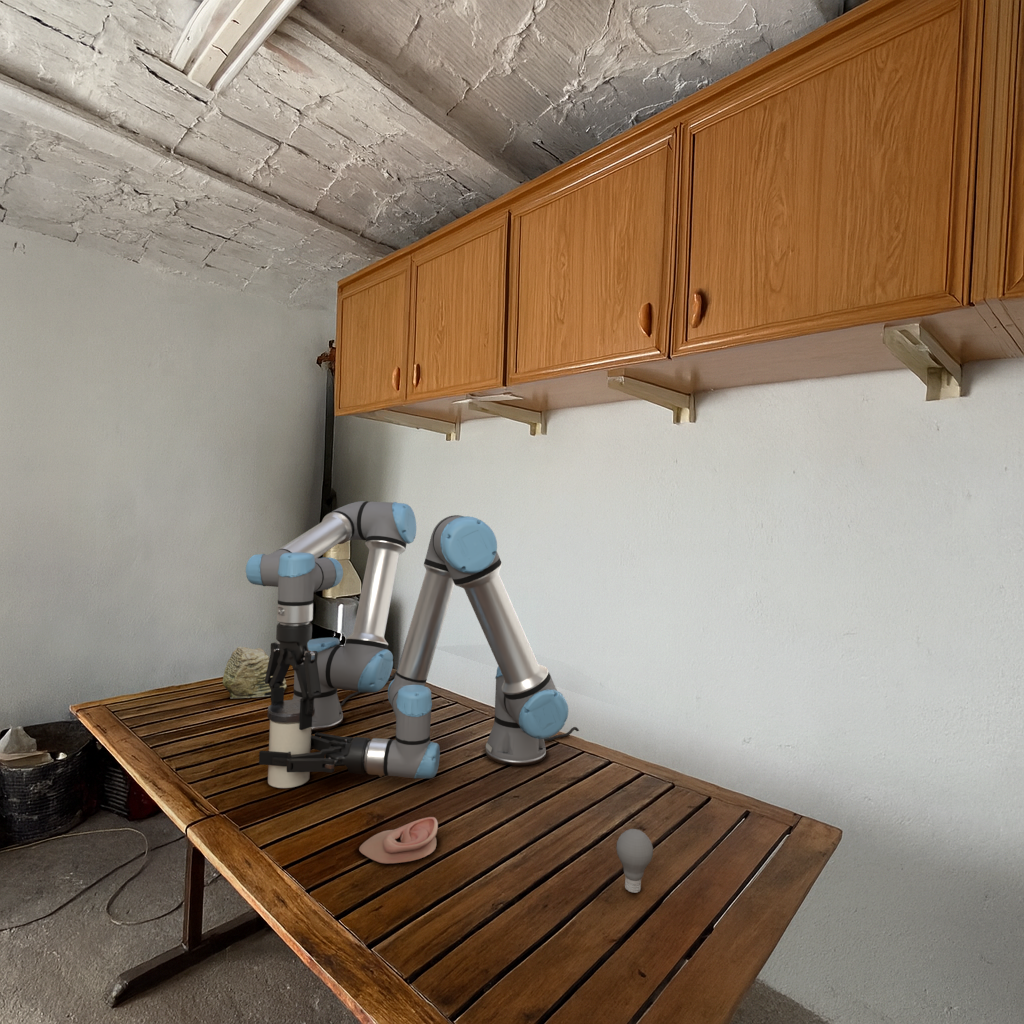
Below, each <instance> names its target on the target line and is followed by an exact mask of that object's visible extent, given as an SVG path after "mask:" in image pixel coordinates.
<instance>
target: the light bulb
mask: <svg viewBox="0 0 1024 1024" xmlns="http://www.w3.org/2000/svg"><path fill="white" fill-rule="evenodd" d="M615 849H616V854H617V857H618V859H619V861H620V863H621V865H622V867H623V873H624V874H623V875H624V876H625V878H624V888H625V890H627V891H628V892H630V893H634V894H635V893H639V892H640V891H641V889H642V887H641V886H642V879H643V877H644V875H645V871H646V868H647V867H648V866H649V864H650V863H651V861H652V859H653V855H654V847H653V843H652V841H651V838H649V836H648V835H647V834H646V833H645V832H643V831H642V830H641V829H636V828H629V829H627V830H625V831H623V832H622V833H621V834H620V835H619V837H618V839H617V841H616V847H615Z"/></svg>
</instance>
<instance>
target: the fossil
mask: <svg viewBox="0 0 1024 1024" xmlns="http://www.w3.org/2000/svg"><path fill="white" fill-rule="evenodd" d="M269 658H270V655H268V654H267V653H266V652H265V650H264V649H263V648H260V647H258V648H251V647H247V646H246V647H245V646H238V647H237V648H236V649H235V650H233V651H232V653H231V656H230V657H229V659H228V660H227V663H226V666H225V668H224V671H223V675H222V676H223V677H222V685H223V687H224V688H225V690H226V691H228V693H229V698H230V699H250V698H264V697H271V688H270V686H269V684H266V683H265V677H266V672H267V668H268V663H269ZM271 677H273V676H271ZM283 683H284V685H283V684H282V685H283V686H280V687H284V692H285V691H286V689H287V687H288V686H287V680H286V677H285V678H284V681H283Z"/></svg>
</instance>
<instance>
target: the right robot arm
mask: <svg viewBox="0 0 1024 1024" xmlns="http://www.w3.org/2000/svg"><path fill="white" fill-rule="evenodd" d="M430 535H431V536H430V539H429V543H428V547H427V551H426V553H425V558H424V562H423V567H424V568H425V573H424V577H423V580H422V584H421V587H420V590H419V594H418V597H417V600H416V604H415V607H414V611H413V614H412V618H411V621H410V624H409V627H408V631H407V635H406V638H405V642H404V644H403V648H402V651H401V654H400V659H399V662H398V665H397V668H396V671H397V672H396V671H395V672H396V675H395V676H394V677H393V678H392V679H391V682H390V683H389V685H388V688H387V699H388V702H389V704H390V706H391V708H392V710H393V713H394V716H395V739H390V738H378V737H373V738H372V739H371V738H370V737H361V736H354V737H352V736H339V735H335V734H330V733H323V732H314V735H313V734H311V751H312V750H315V752H311V753H305V754H295V755H291V752H288V753H287V752H273V751H269V750H260V751H259V753H258V765H260V766H261V765H262V766H263V765H264V766H268V765H274V766H287V772H310V773H319V772H320V773H321V772H323V773H329V774H330V773H335V768H336V767H344V766H345V767H346V769H347V771H348V773H350V774H356V775H366V773H367V775H372V776H378V777H379V778H382V777H383V776H386V777H399V778H409V779H414V780H417V779H420V780H421V779H424V780H426V779H433V778H434V777H435V776H436V775H437V773H438V771H439V765H440V759H441V750H440V749H441V748H440V745H439V743H437V742H433V741H431V722H432V708H433V702H432V690H431V689H430V688H429V687H428V686H426V684H427V681H428V676H429V673H430V670H431V666H432V663H433V660H434V656H435V653H436V650H437V646H438V643H439V640H440V636H441V632H442V630H443V625H444V623H445V619H446V616H447V612H448V609H449V606H450V603H451V602H450V601H451V598H452V595H453V593H454V589H455V586H456V587H459V588H462V589H463V590H464V592H465V594H466V597H467V598H468V601H469V603H470V605H471V608H472V610H473V612H474V614H475V616H476V619H477V621H478V623H479V625H480V628H481V631H482V632H483V634H484V637H485V639H486V641H487V644H488V646H489V648H490V650H491V652H492V655H493V657H494V659H495V662H496V664H497V667H496V675H495V678H494V679H495V692H494V694H495V695H494V697H495V698H494V719H493V725H492V728H491V730H490V733H489V735H488V738H487V741H486V744H485V755H486V756H487V758H488V759H490V760H491V761H493V762H495V763H498V764H502V765H505V766H511V767H512V766H514V767H523V766H525V767H526V766H532V765H535V764H539V763H541V762H542V761H543V760H545V758H546V756H547V747H546V742H550V741H554V740H556V739H561V738H566V737H569V736H570V735H571V734H572V733H573V732H574V731H575V732H580V730H579V729H580V728H578V727H577V726H574V727H571V729H569V730H568V731H567V732H565V733H561V734H558V733H559V732H560V731H561V730H562V729H563V728H564V726H565V725H566V722H567V720H568V717H569V704H568V702H567V699H566V698H565V696H564V694H563V693H562V692H560V691H559V690H558V688H557V687H556V684H555V682H554V680H553V678H552V676H551V673H550V671H549V669H548V667H546V665H542V664H540V663H539V662H538V660H537V658H536V656H535V653H534V650H533V649H532V646H531V643H530V642H529V639H528V637H527V635H526V631H525V630H524V628H523V626H522V623H521V621H520V618H519V616H518V613H517V612H516V609H515V607H514V605H513V602H512V600H511V598H510V596H509V593H508V591H507V589H506V586H505V584H504V582H503V579H502V577H501V574H500V571H501V569H502V565H503V562H502V560H501V558H500V555H499V553H498V541H497V537H496V534H495V532H494V531H493V529H492V528H491V527H490V526H489V525H488V524H487V523H486V522H484V521H483V520H482V519H479V518H477V517H475V516H465V515H459V514H454V515H453V514H452V515H448V516H447V517H444V518H442V519H441V520H440V521H439V522H438V523H437V524H436V525H435V527H434V528H433V530H432V532H431V534H430Z"/></svg>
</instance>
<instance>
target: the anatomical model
mask: <svg viewBox="0 0 1024 1024" xmlns="http://www.w3.org/2000/svg"><path fill="white" fill-rule="evenodd" d="M438 830H439V822H438V819H437V818H436V817H434V816H428V817H423V818H419V819H417V820H414V821H410V822H409V823H407V824H404V825H401V826H398V827H397V828H395V829H388V830H383V831H381V832H378V833H376V834H374V835H372V836H371V837H369V838H368V839H366V840H365V841H364V842H363V843H362V844H361V845H360V846H359V848H358V850H359V852H360V853H361V854H362V855H364V857H366V858H368V859H369V860H372V861H374V862H377V863H380V864H399V863H400V864H401V863H409V862H413V861H417V860H420V859H422V858H426V857H427V856H429V855H431V854H432V853H433V852H435V850H436V847H437V837H436V836H437V834H438Z"/></svg>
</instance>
